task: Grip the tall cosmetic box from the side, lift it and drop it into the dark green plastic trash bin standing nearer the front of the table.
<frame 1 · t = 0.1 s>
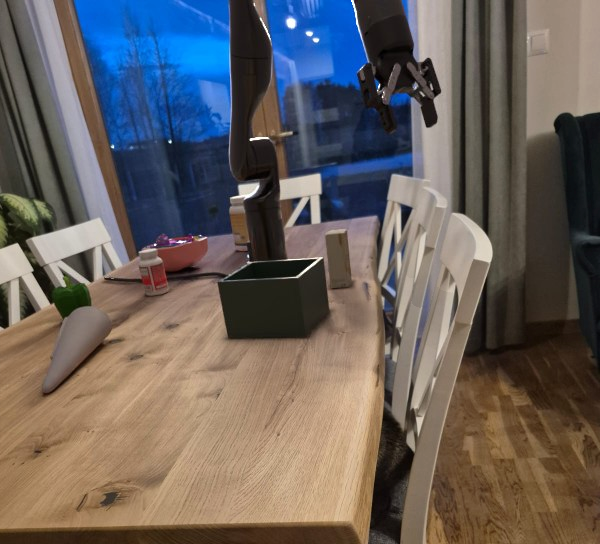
hand: (412, 128, 94), 31 cm above the table, tool tilted 20°, fingers open, 8 cm apart
cell model: (181, 270, 177), on the table
trash bin: (280, 324, 113), on the table
cosmetic box: (341, 285, 135), on the table
pill bottle: (157, 293, 152), on the table
bell pepper: (78, 319, 137), on the table
grey cone: (83, 365, 106), on the table
supplement tub: (253, 248, 196), on the table
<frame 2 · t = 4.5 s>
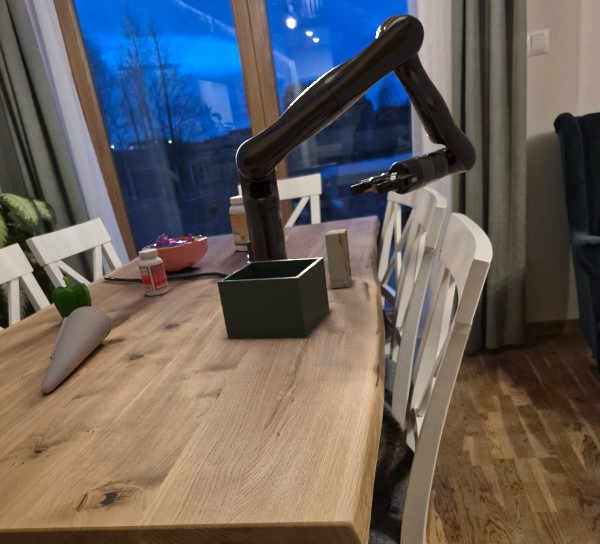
hand: (364, 190, 132), 19 cm above the table, tool horizontal, fingers open, 8 cm apart
nothing on the table moved.
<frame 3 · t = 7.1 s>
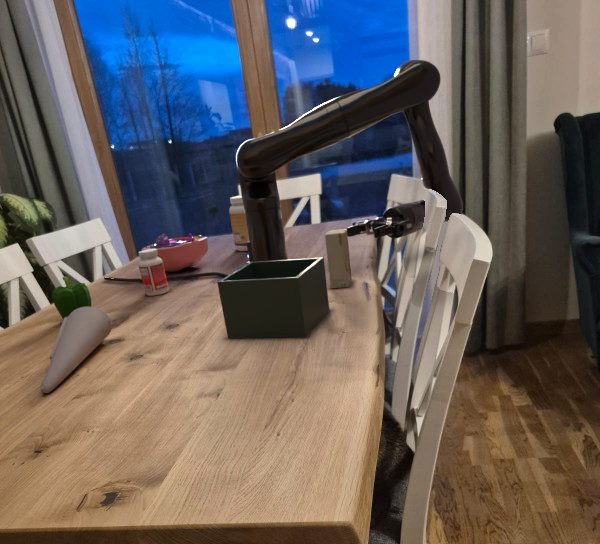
hand: (361, 232, 135), 10 cm above the table, tool horizontal, fingers open, 8 cm apart
nothing on the table moved.
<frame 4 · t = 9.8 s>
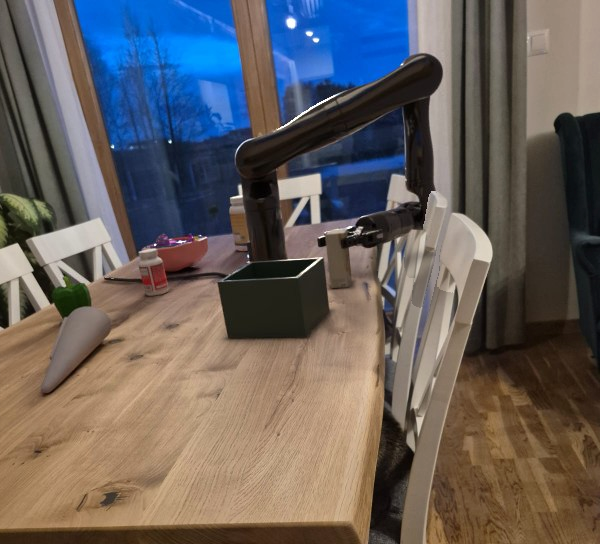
hand: (330, 243, 129), 10 cm above the table, tool horizontal, fingers closed on cosmetic box, 7 cm apart
cosmetic box: (341, 285, 135), on the table, touching gripper
everything else where it was.
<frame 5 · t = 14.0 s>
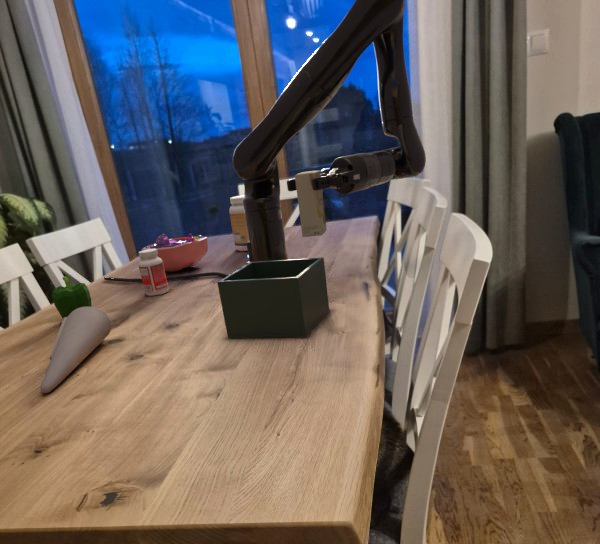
hand: (300, 185, 115), 24 cm above the table, tool horizontal, fingers closed on cosmetic box, 7 cm apart
cosmetic box: (315, 235, 121), point 14 cm above the table, touching gripper
everything else where it was.
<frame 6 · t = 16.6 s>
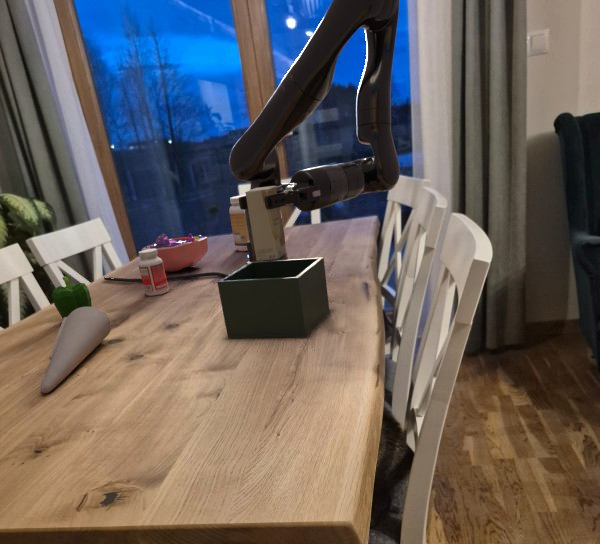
hand: (253, 203, 102), 23 cm above the table, tool horizontal, fingers closed on cosmetic box, 7 cm apart
cosmetic box: (271, 258, 108), point 13 cm above the table, touching gripper
everything else where it was.
when the fingers open (20 cm above the table, at t = 18.2 s): cosmetic box drops 9 cm, resting on trash bin.
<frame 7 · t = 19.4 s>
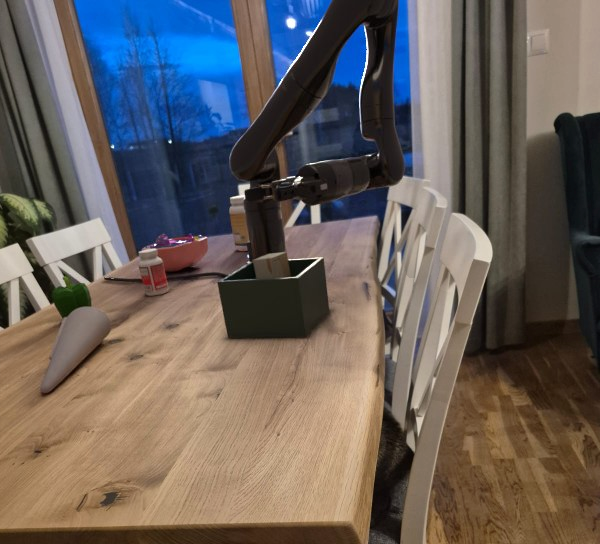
hand: (260, 195, 103), 24 cm above the table, tool horizontal, fingers open, 8 cm apart
cosmetic box: (282, 319, 113), point 1 cm above the table, touching trash bin
everything else where it was.
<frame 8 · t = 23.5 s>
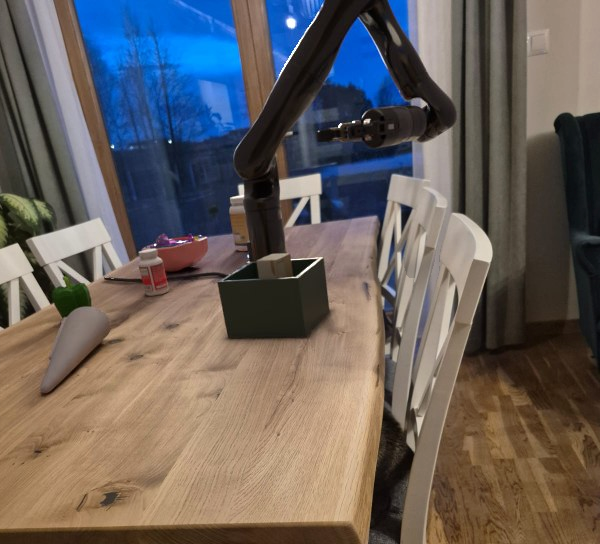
hand: (333, 134, 112), 32 cm above the table, tool horizontal, fingers open, 8 cm apart
nothing on the table moved.
at the end: cosmetic box inside the target area in the trash bin (0.7 cm from its centre), point 0.6 cm above the trash bin's base; the gripper is holding nothing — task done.
